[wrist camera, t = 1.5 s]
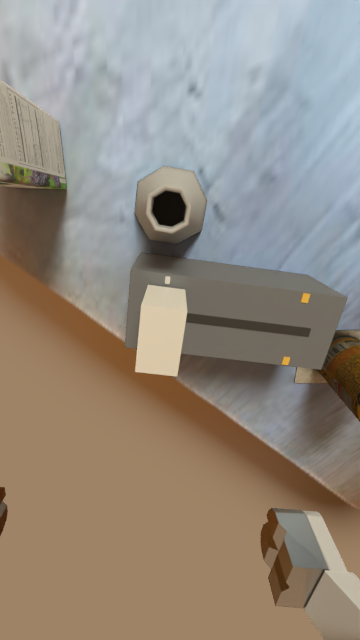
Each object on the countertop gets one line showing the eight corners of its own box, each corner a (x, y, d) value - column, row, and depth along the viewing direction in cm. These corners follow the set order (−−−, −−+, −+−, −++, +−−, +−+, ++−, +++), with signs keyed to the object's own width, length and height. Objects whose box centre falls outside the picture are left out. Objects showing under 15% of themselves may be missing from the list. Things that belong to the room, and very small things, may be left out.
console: (136, 314, 33) (124, 347, 26) (141, 252, 31) (130, 269, 23) (289, 333, 34) (321, 370, 27) (307, 275, 32) (348, 297, 24)
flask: (211, 237, 30) (227, 254, 21) (142, 249, 31) (128, 270, 21) (202, 159, 28) (215, 138, 18) (126, 172, 28) (102, 159, 19)
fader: (142, 340, 25) (134, 371, 21) (148, 284, 23) (141, 305, 19) (177, 344, 26) (177, 376, 21) (185, 289, 24) (187, 311, 19)
